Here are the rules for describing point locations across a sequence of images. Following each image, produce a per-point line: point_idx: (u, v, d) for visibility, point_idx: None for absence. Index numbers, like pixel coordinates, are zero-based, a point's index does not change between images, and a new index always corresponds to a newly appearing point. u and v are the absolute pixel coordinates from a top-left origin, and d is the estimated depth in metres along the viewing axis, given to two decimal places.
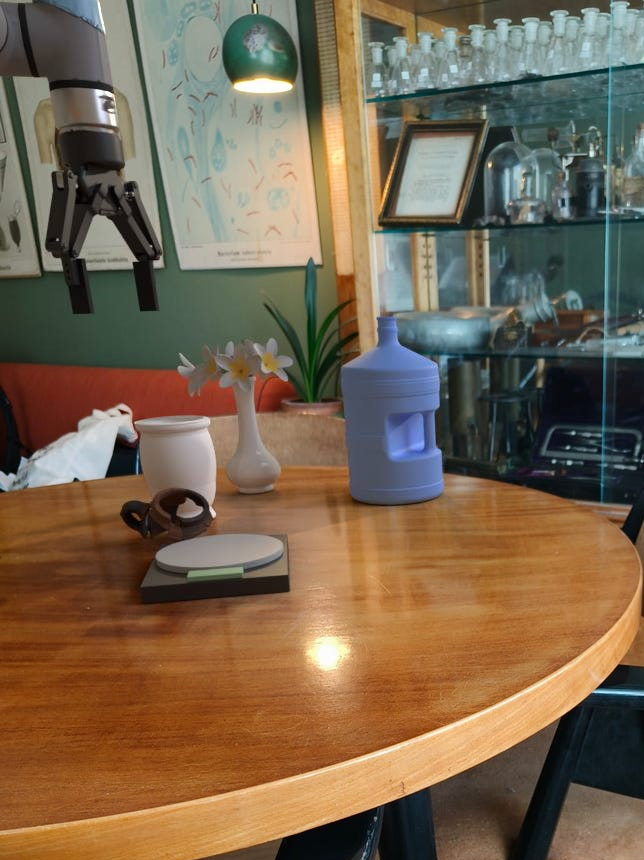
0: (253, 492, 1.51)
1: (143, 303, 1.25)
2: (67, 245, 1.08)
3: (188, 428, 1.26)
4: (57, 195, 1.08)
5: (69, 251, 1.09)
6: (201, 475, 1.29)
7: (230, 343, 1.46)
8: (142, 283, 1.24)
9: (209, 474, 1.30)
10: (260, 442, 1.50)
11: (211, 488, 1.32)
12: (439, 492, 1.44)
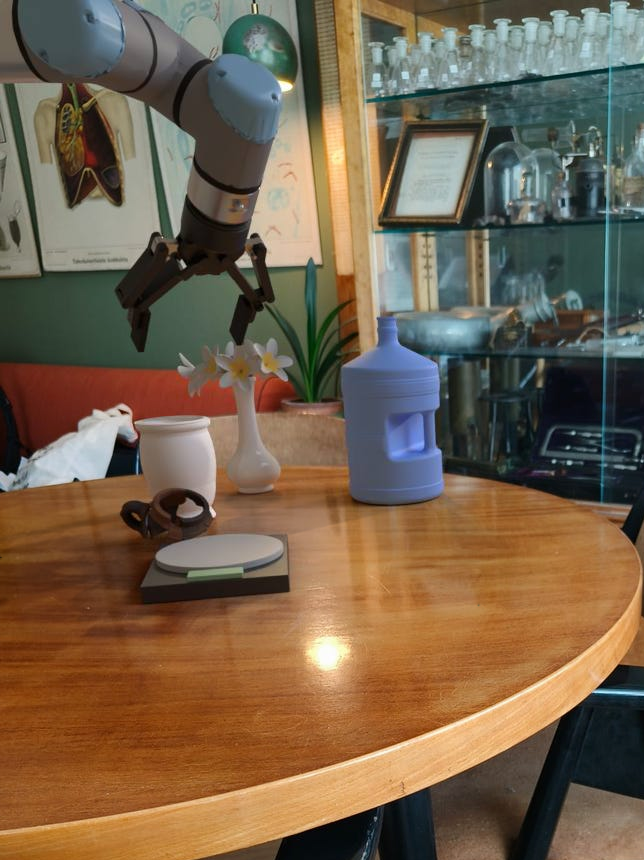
0: (253, 492, 1.51)
1: (233, 329, 1.20)
2: (130, 305, 1.06)
3: (188, 428, 1.26)
4: (146, 256, 1.03)
5: (134, 306, 1.07)
6: (201, 475, 1.29)
7: (230, 343, 1.46)
8: (238, 317, 1.18)
9: (208, 474, 1.30)
10: (260, 442, 1.50)
11: (211, 488, 1.32)
12: (439, 492, 1.44)
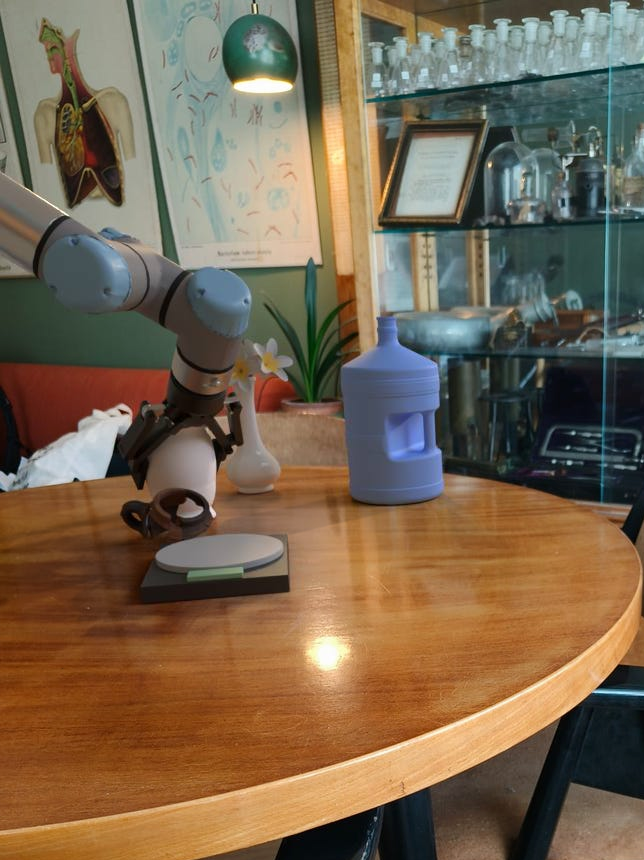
0: (253, 492, 1.51)
1: None
2: (131, 457, 1.23)
3: (188, 428, 1.26)
4: (139, 420, 1.20)
5: (134, 458, 1.24)
6: (201, 475, 1.29)
7: None
8: None
9: (208, 474, 1.30)
10: (260, 442, 1.50)
11: (211, 488, 1.32)
12: (439, 492, 1.44)
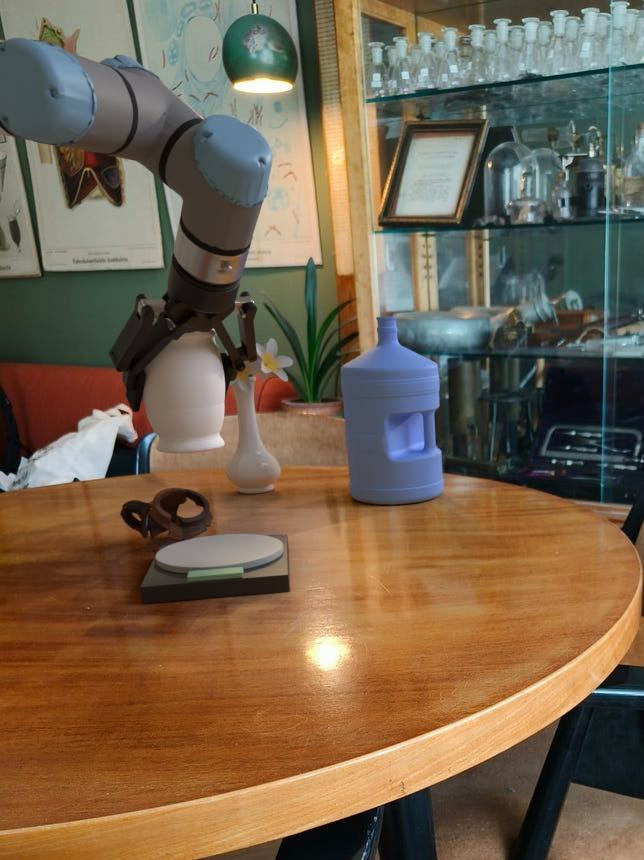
0: (253, 492, 1.51)
1: None
2: (125, 367, 1.03)
3: (193, 334, 1.06)
4: (134, 319, 1.00)
5: (129, 369, 1.05)
6: (208, 393, 1.09)
7: None
8: None
9: (217, 393, 1.10)
10: (260, 442, 1.50)
11: (219, 410, 1.12)
12: (439, 492, 1.44)
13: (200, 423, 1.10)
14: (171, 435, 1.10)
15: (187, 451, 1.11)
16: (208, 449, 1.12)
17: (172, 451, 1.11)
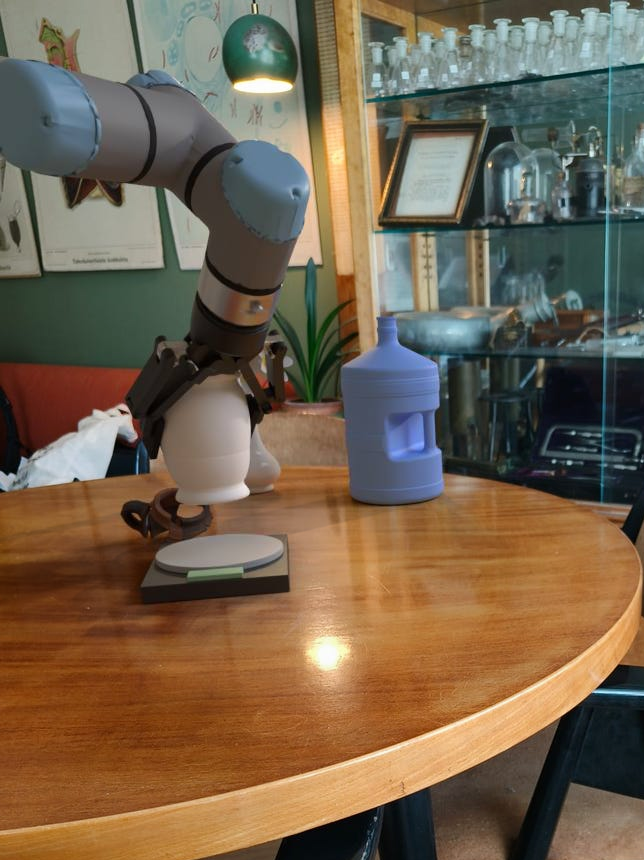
0: (253, 492, 1.51)
1: None
2: (142, 414, 0.94)
3: (216, 376, 0.96)
4: (153, 362, 0.90)
5: (146, 415, 0.95)
6: (233, 440, 1.00)
7: None
8: None
9: (242, 439, 1.01)
10: (260, 442, 1.50)
11: (244, 457, 1.02)
12: (439, 492, 1.44)
13: (224, 472, 1.00)
14: (192, 486, 1.01)
15: (209, 502, 1.01)
16: (232, 500, 1.02)
17: (193, 502, 1.01)
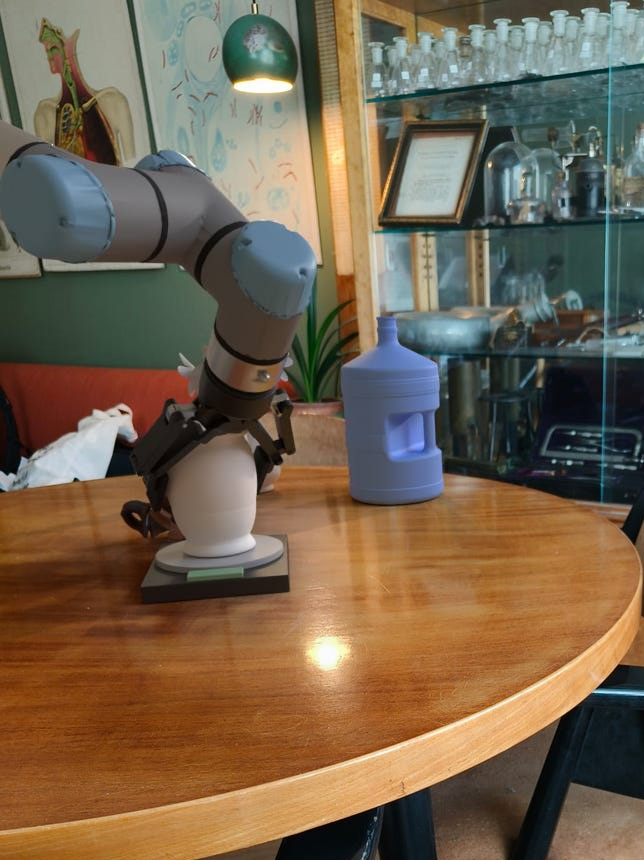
0: None
1: None
2: (146, 472, 0.96)
3: (224, 435, 0.99)
4: (161, 423, 0.92)
5: (151, 471, 0.97)
6: (240, 495, 1.02)
7: None
8: None
9: (248, 493, 1.03)
10: None
11: (251, 510, 1.04)
12: (439, 492, 1.44)
13: (231, 526, 1.03)
14: (200, 539, 1.03)
15: (216, 555, 1.03)
16: (239, 552, 1.05)
17: (200, 555, 1.03)
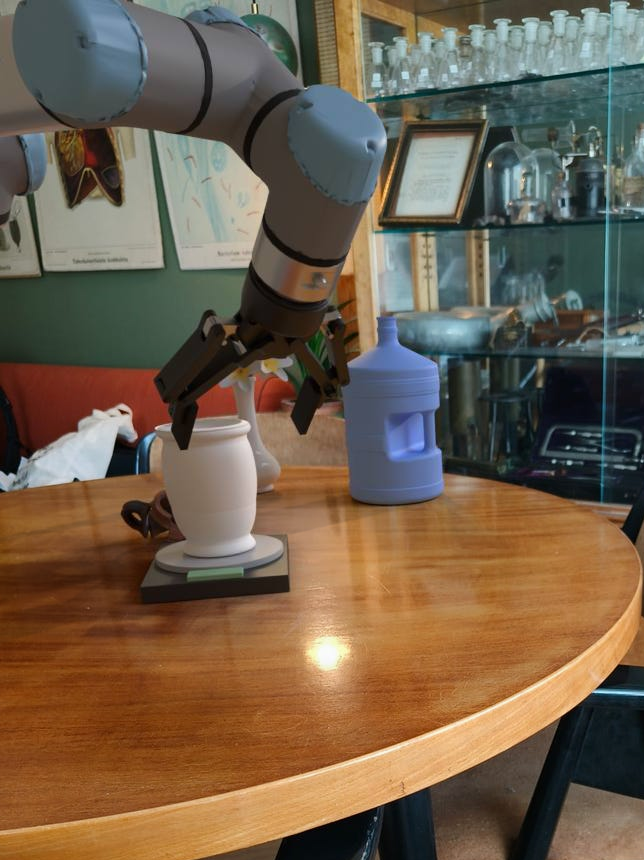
0: None
1: (295, 415, 0.97)
2: (174, 398, 0.83)
3: (224, 435, 0.99)
4: (196, 340, 0.80)
5: (178, 398, 0.84)
6: (240, 495, 1.02)
7: None
8: (303, 401, 0.95)
9: (248, 494, 1.03)
10: (260, 442, 1.50)
11: (251, 510, 1.04)
12: (439, 492, 1.44)
13: (231, 526, 1.03)
14: (200, 539, 1.03)
15: (216, 555, 1.03)
16: (239, 552, 1.05)
17: (200, 555, 1.03)
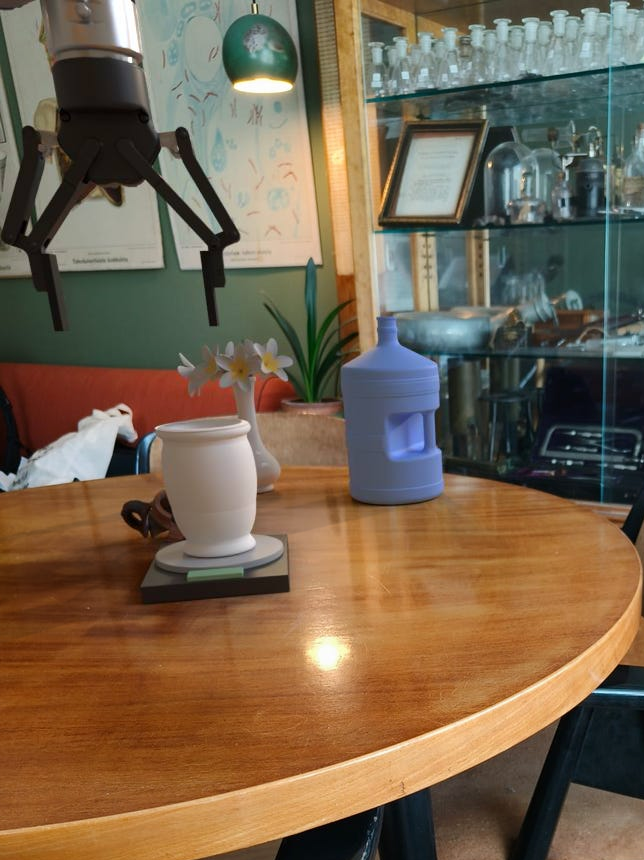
0: None
1: None
2: (13, 236, 0.77)
3: (224, 435, 0.99)
4: None
5: (25, 244, 0.78)
6: (240, 495, 1.02)
7: (230, 343, 1.46)
8: None
9: (248, 494, 1.03)
10: (260, 442, 1.50)
11: (251, 510, 1.04)
12: (439, 492, 1.44)
13: (231, 526, 1.03)
14: (200, 539, 1.03)
15: (216, 555, 1.03)
16: (239, 552, 1.05)
17: (200, 555, 1.03)
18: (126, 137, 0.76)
